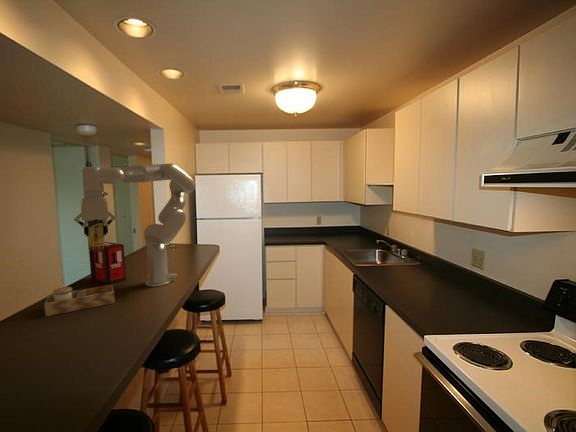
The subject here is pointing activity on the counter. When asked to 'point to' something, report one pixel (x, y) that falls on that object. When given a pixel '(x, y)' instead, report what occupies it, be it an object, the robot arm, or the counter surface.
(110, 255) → the cleaning product box
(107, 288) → the caddy
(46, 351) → the counter surface
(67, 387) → the counter surface
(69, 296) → the jar
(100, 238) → the sauce bottle
